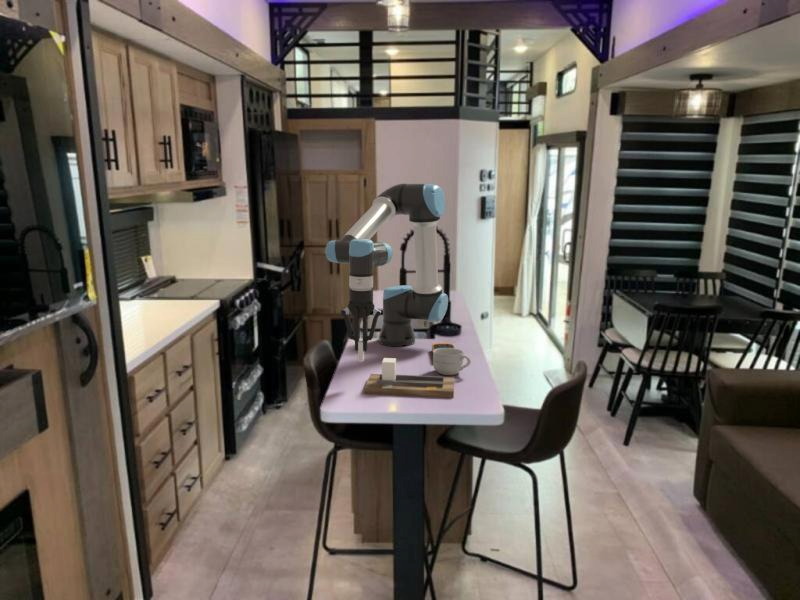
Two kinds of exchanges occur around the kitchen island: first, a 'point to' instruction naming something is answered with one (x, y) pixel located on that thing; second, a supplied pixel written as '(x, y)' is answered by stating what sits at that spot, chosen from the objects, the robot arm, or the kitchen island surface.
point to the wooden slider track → (411, 386)
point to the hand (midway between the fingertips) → (361, 360)
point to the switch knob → (389, 369)
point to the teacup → (449, 360)
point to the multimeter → (442, 345)
